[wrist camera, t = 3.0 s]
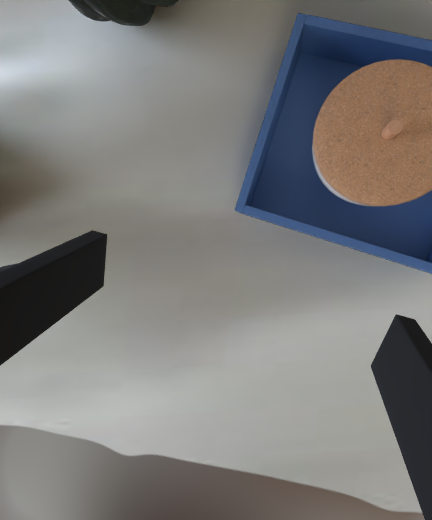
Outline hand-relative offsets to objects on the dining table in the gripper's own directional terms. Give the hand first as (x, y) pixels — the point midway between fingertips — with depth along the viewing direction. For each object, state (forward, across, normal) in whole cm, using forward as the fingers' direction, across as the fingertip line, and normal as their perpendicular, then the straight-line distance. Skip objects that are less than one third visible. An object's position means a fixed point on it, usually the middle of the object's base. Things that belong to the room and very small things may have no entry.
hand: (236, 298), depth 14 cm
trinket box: (+23, +8, +7) cm, 25 cm away
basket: (+23, +8, +7) cm, 25 cm away
